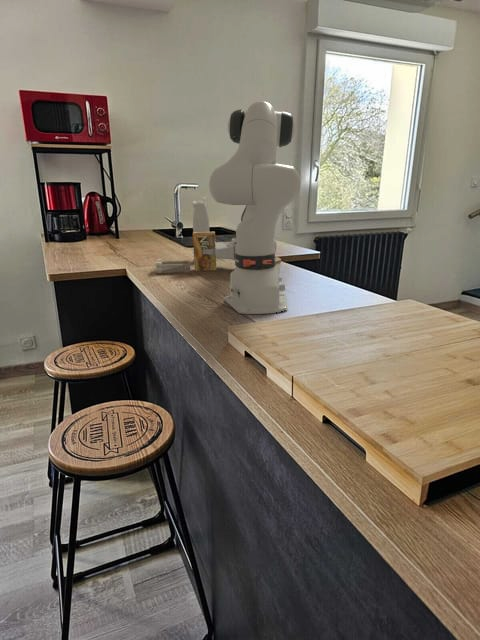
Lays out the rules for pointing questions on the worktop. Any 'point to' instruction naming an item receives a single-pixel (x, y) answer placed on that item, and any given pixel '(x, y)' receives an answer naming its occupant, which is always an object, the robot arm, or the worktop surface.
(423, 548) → the worktop surface
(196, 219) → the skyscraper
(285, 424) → the worktop surface
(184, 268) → the channel
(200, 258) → the candy box
